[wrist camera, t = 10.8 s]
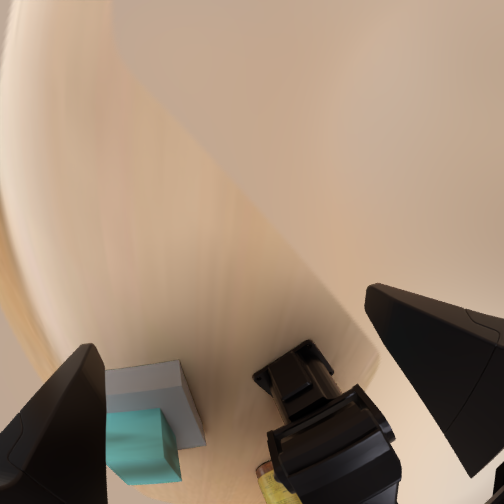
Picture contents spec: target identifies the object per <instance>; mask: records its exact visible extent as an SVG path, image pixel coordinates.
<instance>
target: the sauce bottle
mask: <svg viewBox="0 0 504 504" xmlns="http://www.w3.org/2000/svg"><path fill="white" fill-rule="evenodd" d="M256 474H257V478H258V483H259V486H260V488H261V491H262V493H263V496H264V498H265V501H266V503H267V504H302V502H301V501H300V499H299V497H298V496H297V494H296V493H295V494H291V493H290V492H289V491H288V490H287V489H286V488H285V487H284V486H283V484H281V483H278V482H276V481H275V479H274V469H273V465H272V461H269V462H266V463H265V464H263V465H261V466H260V467H259V468H258V469H257V471H256Z"/></svg>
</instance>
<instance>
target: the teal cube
mask: <svg viewBox="0 0 504 504" xmlns="http://www.w3.org/2000/svg"><path fill="white" fill-rule="evenodd" d="M106 465H107V466H108V467H109V468H111V470H113V472H115V473H116V474H117V475H118V476H119V477H120V478H121V479H122V480H123V481H124V482H125V483H126V484H128V485H142V484H158V483H169V482H179V481H182V478H181V472H180V465H179V458H178V451H177V443H176V437H175V435H174V433H173V431H172V429H171V428H170V426H169V424H168V422H167V420H166V418H165V416H164V414H163V413H162V411H161V409H160V408H155V409H147V410H138V411H128V412H117V413H107V420H106Z"/></svg>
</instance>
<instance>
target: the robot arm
mask: <svg viewBox="0 0 504 504" xmlns="http://www.w3.org/2000/svg"><path fill="white" fill-rule="evenodd" d="M364 306H365V312H366V314H367V315H368V317H369V319H370V321H371V322H372V324H373V326H374V328H375V329H376V331H377V333H378V335H379V336H380V338H381V340H382V342H383V344H384V345H385V347H386V348H387V350H388V351H389V353H390V354H391V355H392V357H393V358H394V360H395V361H396V362H397V364H398V365H399V367H400V368H401V370H402V371H403V373H404V374H405V376H406V377H407V379H408V380H409V381H410V383H411V384H412V386H413V387H414V389H415V390H416V392H417V393H418V395H419V396H420V398H421V400H422V401H423V402H424V404H425V406H426V407H427V409H428V410H429V412H430V413H431V415H432V416H433V418H434V420H435V421H436V423H437V424H438V426H439V427H440V429H441V431H442V432H443V433H444V436H445V437H446V439H447V440H448V442H449V444H450V445H451V447H452V449H453V450H454V452H455V453H456V455H457V457H458V458H459V460H460V462H461V463H462V465H463V467H464V468H465V470H466V472H467V474H468V475H469V477H470V478H472V477H474V476H475V475H476V474H477V473H478V472H479V471H480V470H482V469H483V468H484V467H485V466H486V465H487V464H488V463H489V462H491V461H492V460H493V459H494V458H495V457H496V456H497V455H498V454H499V453H500V452H501V451H502V450H503V449H504V319H503V318H498V317H495V316H490V315H486V314H482V313H479V312H476V311H472V310H469V309H464V308H462V307H458V306H455V305H452V304H448V303H445V302H442V301H438V300H435V299H432V298H428V297H425V296H422V295H418V294H415V293H411V292H408V291H404V290H401V289H397V288H394V287H390V286H388V285H384V284H381V283H375V284H372V285H369V286H368V287H367V290H366V298H365V305H364ZM308 345H309V346H308ZM333 374H334V371H333V369H332V368H331V366H330V365H329V363H328V362H327V361H326V359H325V358H324V356H323V355H322V354H321V352H320V351H319V349H318V348H317V347H316V345H315V344H314V342H313V341H312V340H306V341H305V342H303V343H302V344H300V345H299V346H297V347H296V348H294V349H293V350H291V351H290V352H288V353H287V354H285V355H284V356H282V357H280V358H279V359H277V360H276V361H274V362H273V363H271V364H269V365H268V366H266V367H265V368H263V369H261V370H260V371H258V372H256V373H255V374H254V375H253V380H254V382H256V383H257V384H258V385H259V386H260V387H261V388H262V389H264V390H265V391H266V392H267V393H268V394H269V395H271V396H272V397H273V398H274V400H275V403H276V405H277V407H278V410H279V412H280V414H281V417H282V419H283V421H284V424H285V425H284V426H282V427H280V428H278V429H276V430H274V431H273V430H271V431H269V432H267V437H268V440H267V443H268V447H269V452H270V456H271V460H272V465H273V469H274V479H275V481H276V482H278V483H281V484H283V486H284V487H285V488H286V489H287V490H288V491H289V492H290V493H291V494H295V493H296V494H297V496H298V497H299V499H300V501H301V502H302V504H398V503H397V494H398V486H399V482H400V481H401V477H402V475H401V474H402V468H401V463H400V460H399V458H398V457H397V455H396V453H395V451H394V449H393V448H392V446H391V444H390V443H392V442H393V441H394V440H395V439H396V438H395V435H394V433H393V431H392V429H391V427H390V425H389V423H388V422H387V420H386V418H385V417H384V415H383V414H382V413H381V411H380V410H379V409H378V407H376V405H375V404H374V403H373V402H372V400H371V399H370V398H369V397H368V396H367V394H366V393H365V392H364V391H363V390H362V388H361V387H360V386H359V385H358V384H356V385H355V386H353V387H352V389H350V390H348V391H347V392H345V393H343V394H342V392H341V391H340V389H339V387H338V386H337V384H336V383H335V381H334V380H333V378H332V377H331V376H332V375H333ZM106 420H107V404H106V386H105V366H104V363H103V361H102V359H101V357H100V355H99V353H98V351H97V348H96V347H95V345H94V344H93V343H88V344H82V345H80V346H79V347H78V348H77V349H76V350H75V351H74V352H73V354H72V355H71V356H70V357H69V358H68V359H67V360H66V361H65V362H64V363H63V364H62V365H61V366H60V367H59V368H58V369H57V371H56V372H55V373H54V374H53V375H52V376H51V377H50V378H49V379H48V380H47V381H46V382H45V384H44V385H43V386H42V387H41V388H40V389H39V390H38V391H37V392H36V393H35V395H34V396H33V397H32V398H31V399H30V400H29V401H28V402H27V404H26V405H25V406H24V407H23V408H22V409H21V411H20V413H18V414H17V415H16V416H15V417H14V419H13V420H12V421H11V422H10V423H9V424H8V425H7V427H6V428H5V429H4V430H3V431H2V432H1V433H0V504H108V499H107V482H106ZM485 504H504V462H503V463H502V464H501V465H500V466H499V467H498V468H497V469H496V474H495V482H494V489H493V496H492V497H491V498H490V499H489V500H488V501H487V502H486V503H485Z"/></svg>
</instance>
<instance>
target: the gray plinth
mask: <svg viewBox="0 0 504 504" xmlns="http://www.w3.org/2000/svg"><path fill="white" fill-rule="evenodd" d="M105 386H106V404H107V413H117V412H128V411H138V410H147V409H155V408H160V409H161V411H162V413H163V414H164V416H165V418H166V420H167V422H168V424H169V426H170V428H171V429H172V431H173V433H174V435H175V437H176V443H177V450H180V449H187V448H194V447H200V446H206V441H205V436H204V431H203V426H202V422H201V419H200V417H199V414H198V412H197V409H196V406H195V404H194V401H193V398H192V396H191V393H190V390H189V388H188V385H187V382H186V379H185V376H184V373H183V370H182V368H181V365H180V362H179V360H175V361H169V362H163V363H156V364H150V365H143V366H136V367H129V368H121V369H113V370H105Z"/></svg>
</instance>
